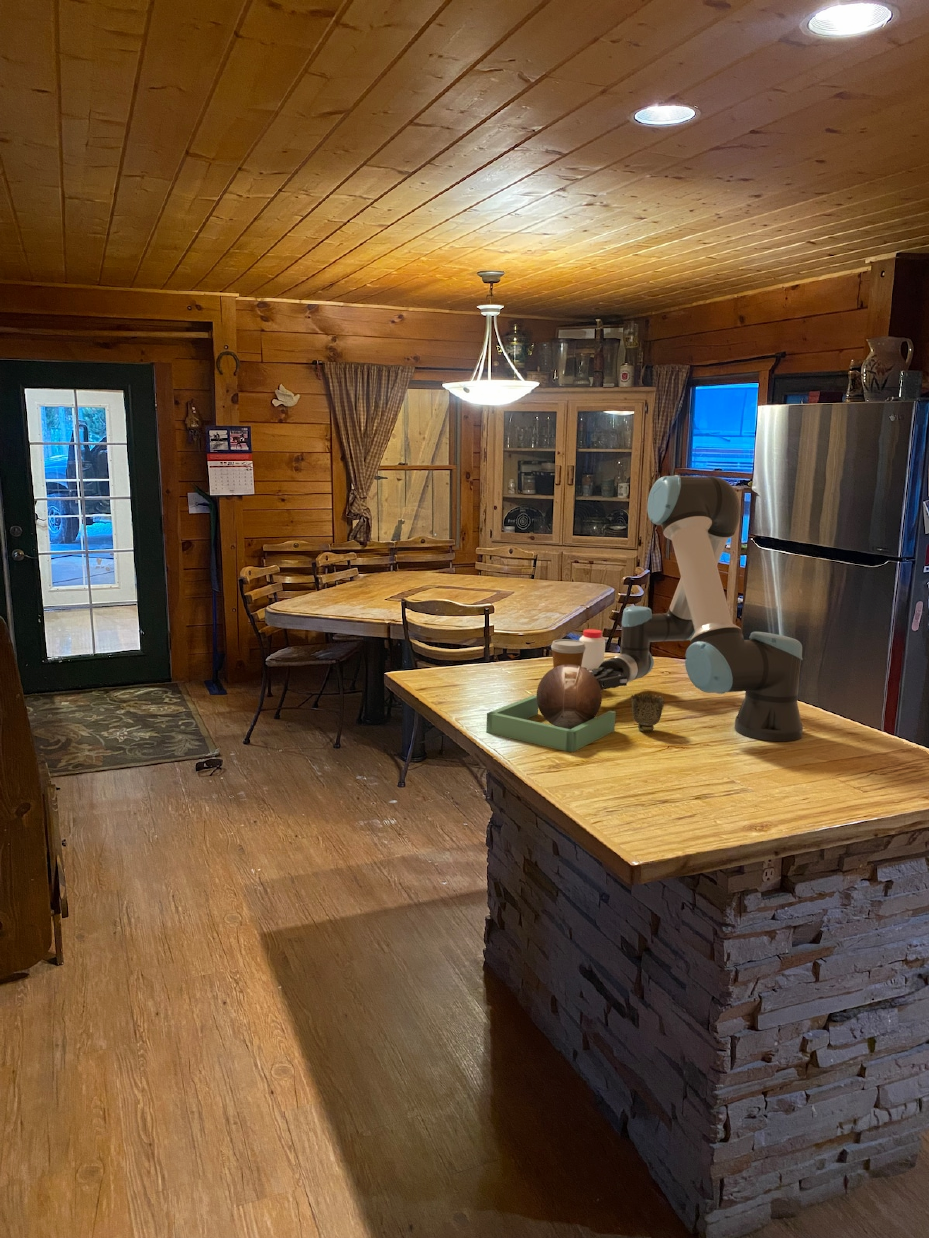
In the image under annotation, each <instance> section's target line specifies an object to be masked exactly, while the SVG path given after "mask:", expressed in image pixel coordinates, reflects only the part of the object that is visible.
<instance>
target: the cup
mask: <svg viewBox="0 0 929 1238" xmlns="http://www.w3.org/2000/svg"><path fill="white" fill-rule="evenodd" d="M664 703H665V700H664V697H663V696H662V695H659V696H658V695H657V694H655V695H654V697H653V695H652V694H651V693H650V694H648V693H645V694H644V695H643V694H642V693H640V694H639V695H638V694H637V693H634V695H633V694H632V695H631V711H632V712H631V713H632V718H633V720H634V722H635V723H636V724H638V725H637V729H638V730H639V732H643V733H651V732H654V729H655V725H657V724H658V723H659V721H660V720H661V717H662V713H663V708H664Z"/></svg>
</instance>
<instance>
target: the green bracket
mask: <svg viewBox="0 0 929 1238" xmlns="http://www.w3.org/2000/svg"><path fill="white" fill-rule="evenodd" d="M616 713H617V711H612V710H608V711H606V712H604V713H602V714H599V715H596V716H595V718H593V719H591V720H589V721H587V722H585V723H583V724H581V725H578V726H576V727H574V728H572V729H566V728H562V727H557V726H554V725H552V724H548V723H543V722H539V721H535V720H534V721H533V720H530V718H532V717H534V716H537V715H539V708H538V705H537V698H536V695H530V696H527V697H524V698H523V699H520V700H517V701H515V702H513V703H510V704H507V705H504V706H502V707H499V708H496V709H493V710H492V711H489V712H487V713H486V731H485V732H486V734H487V733H488V734H492V735H496V736H501V737H505V738H508V739H509V738H510V739H513V740H517V741H521V742H526V743H530V744H534V745H538V746H541V747H542V746H544V747H547V748H551V749H555V750H559V751H562V752H563V751H564V752H568V753H574V752H576V751H578V750H580V749H582V748H584V747H586V746H588V745H590V744H592V743H593V742H595V741H597V740H599V739H601V738H603V737H605V736H607V735H609V734H611V733H613V732H614V731H615V728H616Z"/></svg>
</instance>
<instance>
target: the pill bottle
mask: <svg viewBox="0 0 929 1238" xmlns="http://www.w3.org/2000/svg"><path fill="white" fill-rule="evenodd" d="M582 631H583V635H581V636H580V637H579V639H578V641H581V642H584V645H585V647H586V649H585V651H584V654H583V659H582V665H581V667H583V668H587V669H589V671H592V670H593V669H597V668H599V666H600V665H601V663H602V662H604V661H605V652H606V639H605V638H604V637H603V631H602V630H599V629H591V628H587V629H584V630H582Z"/></svg>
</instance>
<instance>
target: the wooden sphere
mask: <svg viewBox="0 0 929 1238" xmlns="http://www.w3.org/2000/svg"><path fill="white" fill-rule="evenodd" d="M590 671H591V670H589V671H588V670H587V669H585V668H583V667H581V666H578V665H573V664H565V665H560V666H557V667H555V668H554V667H552V668H551V669H549V670H548V671H547V672H546V673H545V674H544V675H543V676H542V677H541V679H540V681H539V683H538V686H537V690H536V695H535V696H536V698H537V705H538V711H539V712H540V714H541V715H542V717H543V719H545V720H546V721H547V722H548V723H549V724H550V725H553V726H557V727H562V728H566V729H572V728H574V727H576V726H578V725H581V724H583V723H585V722H587V721H589V720H591V719H593V718H595V717H597V716H598V713H599V711H600V710H601V709H600V708H601V706H602V702H603V701H602V700H603V699H602V698H603V695H602V694H603V692H602V690H601V688H600V685H599V683H598V681H597V679H596V678H595V676H594V675H593V674H592V673H591V672H590Z"/></svg>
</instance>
